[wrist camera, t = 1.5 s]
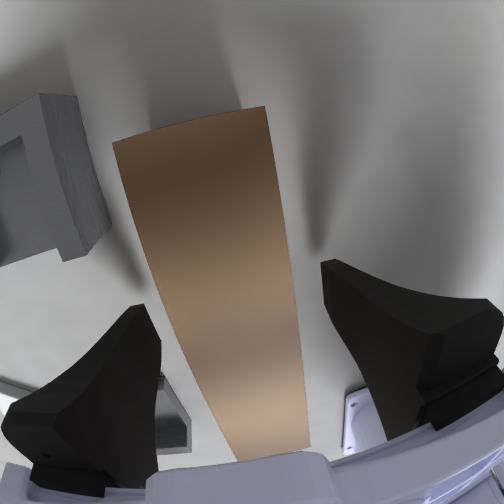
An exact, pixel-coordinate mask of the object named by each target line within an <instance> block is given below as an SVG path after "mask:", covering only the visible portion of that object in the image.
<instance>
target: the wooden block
mask: <svg viewBox="0 0 504 504" xmlns="http://www.w3.org/2000/svg"><path fill="white" fill-rule="evenodd" d="M112 144H113V148H114V152H115V156H116V160H117V164H118V168H119V172H120V175H121V179H122V183H123V186H124V190H125V193H126V197H127V200H128V203H129V207H130V210H131V213H132V217H133V220H134V223H135V226H136V229H137V232H138V235H139V238H140V241H141V244H142V247H143V250H144V253H145V256H146V259H147V262H148V265H149V268H150V270H151V273H152V276H153V279H154V281H155V284H156V287H157V289H158V292H159V295H160V297H161V300H162V302H163V305H164V307H165V310H166V312H167V315H168V317H169V320H170V322H171V325H172V327H173V330H174V332H175V334H176V337H177V339H178V341H179V344H180V346H181V348H182V351H183V353H184V355H185V357H186V360H187V362H188V364H189V366H190V369H191V371H192V373H193V375H194V377H195V379H196V382H197V384H198V386H199V388H200V390H201V392H202V394H203V396H204V398H205V400H206V402H207V404H208V406H209V408H210V410H211V412H212V414H213V416H214V418H215V420H216V422H217V424H218V426H219V428H220V430H221V431H222V433H223V435H224V437H225V439H226V441H227V443H228V444H229V446H230V448H231V450H232V452H233V453H234V455H235V457H236V459H237V461H238V462H239V461H245V460H250V459H256V458H261V457H266V456H271V455H275V454H281V453H288V452H293V451H297V450H301V449H305V448H309V447H311V446H310V434H309V422H308V411H307V401H306V391H305V381H304V371H303V362H302V353H301V344H300V335H299V327H298V319H297V311H296V303H295V295H294V287H293V280H292V272H291V265H290V258H289V251H288V244H287V237H286V230H285V223H284V217H283V210H282V204H281V197H280V191H279V185H278V179H277V173H276V167H275V161H274V155H273V149H272V143H271V137H270V132H269V126H268V121H267V115H266V110H265V106H261V107H255V108H249V109H243V110H238V111H233V112H227V113H222V114H217V115H213V116H208V117H203V118H199V119H195V120H190V121H186V122H182V123H178V124H174V125H170V126H167V127H163V128H159V129H156V130H152V131H149V132H145V133H142V134H138V135H135V136H132V137H129V138H126V139H122V140H119V141H116V142H113V143H112Z"/></svg>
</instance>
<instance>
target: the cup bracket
mask: <svg viewBox="0 0 504 504" xmlns="http://www.w3.org/2000/svg"><path fill="white" fill-rule="evenodd" d="M111 225H112V223H111V220H110V218H109V215H108V212H107V209H106V206H105V203H104V199H103V196H102V193H101V190H100V187H99V183H98V180H97V177H96V173H95V170H94V166H93V163H92V159H91V156H90V152H89V148H88V144H87V140H86V136H85V132H84V128H83V124H82V120H81V115H80V111H79V106H78V101H77V96H68V95H57V94H45V93H38V94H36V95H35V96H33V97H31V98H29V99H27V100H26V101H24V102H22V103H21V104H19V105H17V106H16V107H14V108H12V109H11V110H9V111H7V112H6V113H4V114H3V115H1V116H0V267H2V266H5V265H8V264H10V263H13V262H16V261H19V260H22V259H25V258H28V257H30V256H33V255H36V254H39V253H42V252H45V251H48V250H51V249H54V248H57V249H58V251H59V253H60V256H61V258H62V260H63V262H65V261H68V260H72V259H75V258H79V257H82V256H86V255H87V254H88V253H89V251H90V250H91V249H92V248H93V246H94V245H95V244H96V243H97V241H98V240H99V239H100V238H101V237H102V235H103V234H104V233H105V232H106V231H107V229H108V228H109V227H110V226H111Z"/></svg>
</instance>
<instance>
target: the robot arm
mask: <svg viewBox="0 0 504 504" xmlns="http://www.w3.org/2000/svg"><path fill="white" fill-rule="evenodd" d="M320 263H321V273H322V284H323V295H324V305H325V307H326V309H327V312H328V314H329V317H330V319H331V321H332V323H333V325H334V327H335V328H336V330H337V332H338V333H339V335H340V337H341V338H342V340H343V342H344V343H345V345H346V346H347V348H348V350H349V351H350V353H351V355H352V356H353V358H354V360H355V361H356V363H357V365H358V367H359V369H360V371H361V373H362V375H363V378H364V380H365V382H366V384H367V387H368V388H365V389H362V390H359V391H356V392H353V393H351V394H349V395H348V396H347V397H346V405H345V423H344V437H343V450H342V452H343V454H344V455H348V454H351V453H354V452H355V454H353V455H350V456H347V457H344V458H341V459H338V460H335V461H332V462H329V461H328V459H327V458H326V457H325V456H324V455H323V454H320V453H316V452H307V451H296V452H289V453H281V454H275V455H271V456H266V457H261V458H256V459H250V460H245V461H239V462H232V463H225V464H218V465H210V466H201V467H190V468H177V469H170V470H165V471H158V463H157V454H156V439H155V407H156V398H157V391H158V383H159V376H160V369H161V340H160V338H159V336H158V333H157V331H156V329H155V327H154V325H153V323H152V321H151V319H150V316H149V314H148V312H147V310H146V307H145V305H144V304H139V305H134V306H130V307H129V308H128V309H127V310H126V311H125V312H124V313H123V314H122V315H121V316H120V317H119V318H118V320H117V321H116V322H115V323H114V324H113V325H112V326H111V327H110V329H109V330H108V331H107V332H106V333H105V334H104V335H103V336H102V337H101V338H100V339H99V341H98V342H97V343H96V344H95V345H94V346H93V347H92V348H91V349H90V350H89V351H88V352H87V353H86V354H85V355H84V356H83V357H82V358H81V359H80V360H78V361H77V362H76V363H75V364H74V365H73V366H71V367H70V368H69V369H68V370H66V371H65V372H64V373H62V374H61V375H60V376H58V377H57V378H56V379H54V380H53V381H51V382H50V383H48V384H47V385H45V386H44V387H42V388H40V389H38V390H37V391H35V392H33V393H31V394H29V395H27V396H25V397H23V398H21V399H19V400H17V401H15V402H12V403H11V404H10V406H9V408H8V410H7V413H6V415H5V417H4V420H3V422H2V424H1V430H2V432H3V435H4V436H5V438H6V439H7V440H8V441H9V442H10V443H11V444H12V445H13V446H14V447H15V448H16V449H17V450H18V451H19V452H21V453H22V454H23V455H24V456H25V457H26V458H28V459H29V460H30V461H31V462H32V463H34V464H33V468H32V470H31V469H29V468H27V467H25V466H21V465H17V464H13V463H9V462H8V463H6V465H5V469H4V472H3V475H2V479H1V482H0V504H504V460H503V459H504V368H503V369H502V371H501V370H500V369H499V368H498V366H497V364H498V363H499V359H498V358H497V357H496V356H495V354H494V352H495V349H496V347H497V344H498V342H499V339H500V336H501V334H502V330H503V327H504V316H503V313H502V312H501V311H500V310H499V309H498V308H497V307H495V306H494V305H493V304H492V303H491V302H490V301H489V300H488V299H471V298H452V297H443V296H436V295H431V294H426V293H421V292H417V291H413V290H409V289H406V288H403V287H399V286H396V285H393V284H391V283H388V282H385V281H383V280H380V279H378V278H376V277H373V276H371V275H369V274H367V273H364V272H362V271H360V270H358V269H356V268H354V267H352V266H350V265H348V264H346V263H344V262H342V261H339V260H337V259H332V260H328V261H324V262H320ZM492 468H493V470H494V472H495V474H496V477H495V475H494V473H493V471H492V470H491V469H492ZM497 479H498V480H497ZM498 481H499V482H498Z"/></svg>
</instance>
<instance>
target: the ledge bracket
mask: <svg viewBox="0 0 504 504" xmlns="http://www.w3.org/2000/svg"><path fill="white" fill-rule="evenodd" d="M155 439H156V454H157V455H167V454H180V453H191V452H192V438H191V419H190V418H189V416H188V414H187V413H186V411H185V410H184V408H183V406H182V405H181V403H180V402H179V400H178V398H177V397H176V395H175V393H174V392H173V390H172V388H171V386H170V385H169V383H168V381H167V380H166V378H165V377H160V378H159V383H158V391H157V398H156V407H155Z"/></svg>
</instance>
